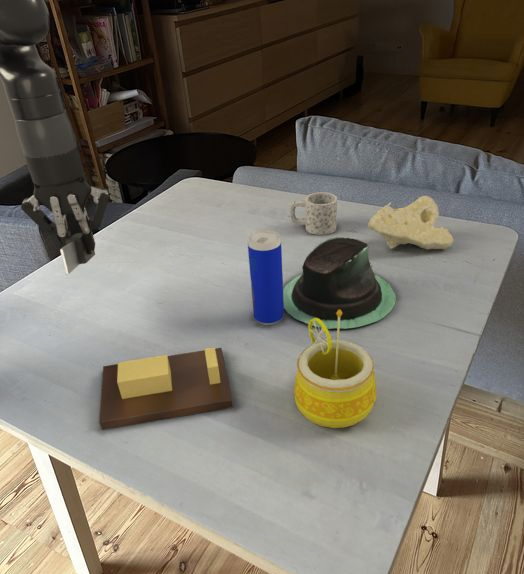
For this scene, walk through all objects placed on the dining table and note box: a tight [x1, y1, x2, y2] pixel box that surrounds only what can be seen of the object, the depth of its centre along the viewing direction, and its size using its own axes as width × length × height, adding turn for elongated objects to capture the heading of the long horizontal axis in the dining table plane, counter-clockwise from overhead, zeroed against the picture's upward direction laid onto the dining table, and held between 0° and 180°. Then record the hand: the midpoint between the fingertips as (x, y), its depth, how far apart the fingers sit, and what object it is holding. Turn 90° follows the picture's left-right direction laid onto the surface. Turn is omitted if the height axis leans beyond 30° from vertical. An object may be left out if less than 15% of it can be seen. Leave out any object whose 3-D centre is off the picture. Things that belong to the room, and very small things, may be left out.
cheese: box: [367, 195, 454, 250], centre depth 106 cm, size 15×7×15 cm
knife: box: [59, 232, 96, 275], centre depth 84 cm, size 19×2×4 cm, turn 10°
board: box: [98, 347, 234, 431], centre depth 77 cm, size 18×12×2 cm, turn 101°
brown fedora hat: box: [283, 236, 397, 330], centre depth 92 cm, size 15×19×20 cm
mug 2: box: [293, 310, 377, 429], centre depth 70 cm, size 13×11×12 cm
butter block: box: [117, 354, 172, 399], centre depth 76 cm, size 7×4×3 cm, turn 101°
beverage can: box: [247, 229, 285, 326], centre depth 86 cm, size 5×5×15 cm
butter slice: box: [204, 346, 220, 385], centre depth 77 cm, size 2×4×3 cm, turn 11°
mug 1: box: [289, 191, 338, 236], centre depth 114 cm, size 10×7×7 cm, turn 77°
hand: (81, 253), depth 88 cm, fingers closed on knife, 2 cm apart
